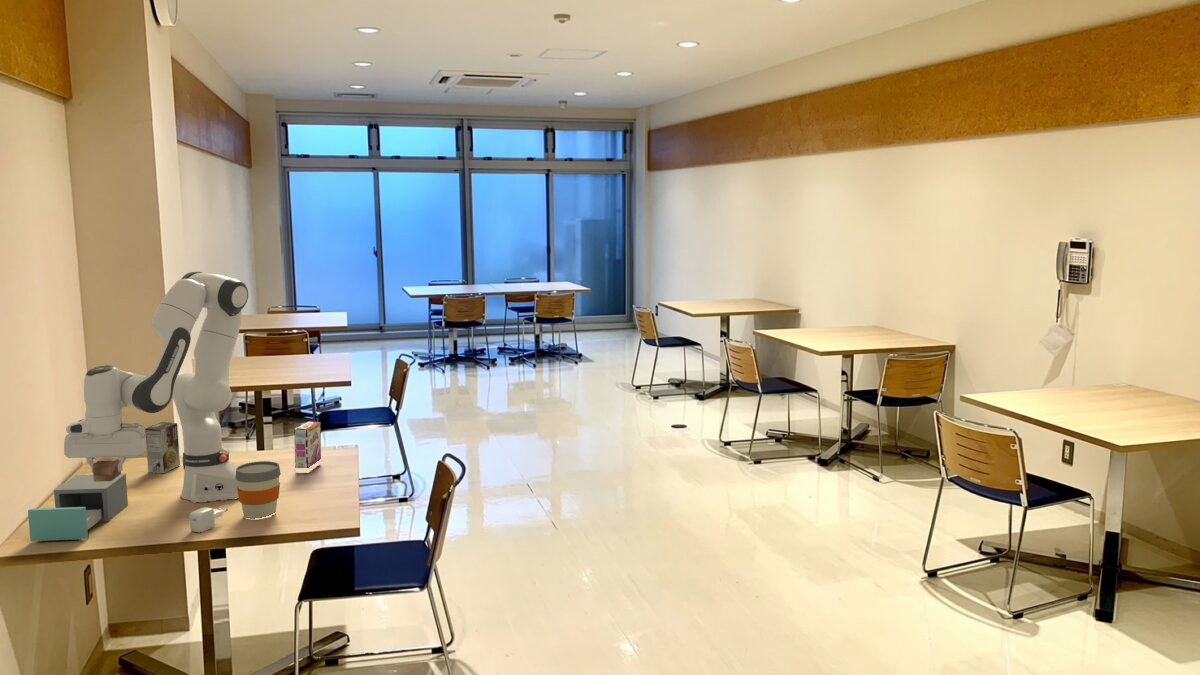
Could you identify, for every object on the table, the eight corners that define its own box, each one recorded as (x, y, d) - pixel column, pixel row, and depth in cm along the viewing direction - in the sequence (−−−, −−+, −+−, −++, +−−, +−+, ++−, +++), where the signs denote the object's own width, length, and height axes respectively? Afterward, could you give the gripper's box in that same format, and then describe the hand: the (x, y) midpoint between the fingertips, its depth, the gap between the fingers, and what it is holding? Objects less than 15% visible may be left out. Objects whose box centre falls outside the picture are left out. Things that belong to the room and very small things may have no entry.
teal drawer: (107, 520, 240) (105, 491, 238) (86, 538, 226) (83, 508, 225) (55, 522, 237) (53, 493, 236) (30, 541, 224) (27, 510, 222)
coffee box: (164, 465, 295) (161, 421, 292) (180, 466, 294) (178, 422, 291) (147, 472, 286) (144, 428, 283) (164, 474, 285) (161, 429, 282)
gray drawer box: (128, 505, 254) (125, 473, 252) (108, 521, 240) (106, 488, 239) (78, 507, 252) (76, 475, 250) (56, 523, 238) (53, 490, 237)
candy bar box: (308, 474, 287) (306, 429, 285) (294, 474, 287) (293, 428, 285) (322, 465, 298) (321, 421, 296) (309, 464, 298) (307, 420, 296)
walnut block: (121, 473, 235) (120, 456, 234) (111, 481, 228) (110, 463, 228) (104, 474, 234) (103, 457, 234) (93, 481, 228) (92, 464, 227)
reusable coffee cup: (232, 512, 249) (230, 465, 247) (275, 504, 257) (273, 458, 254) (243, 525, 239) (241, 476, 237) (287, 516, 247) (285, 468, 245)
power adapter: (218, 518, 244) (217, 499, 243) (231, 521, 243) (230, 502, 242) (188, 531, 234) (186, 512, 233) (201, 534, 232) (200, 514, 231)
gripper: (148, 420, 234) (151, 467, 236) (70, 421, 231) (73, 469, 232) (140, 425, 228) (142, 473, 230) (59, 427, 224) (62, 476, 226)
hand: (107, 471), depth 231 cm, fingers closed on walnut block, 4 cm apart
